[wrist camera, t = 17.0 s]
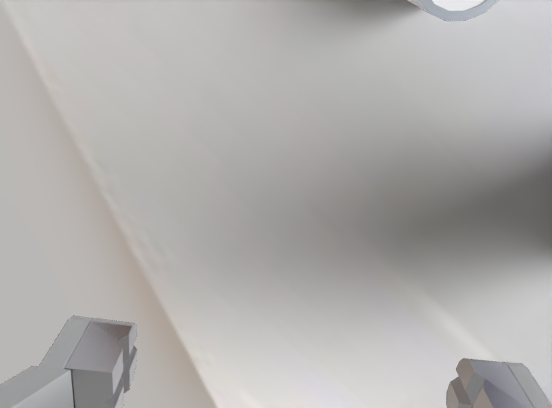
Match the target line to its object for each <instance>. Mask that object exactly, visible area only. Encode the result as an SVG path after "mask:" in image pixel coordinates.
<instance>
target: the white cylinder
mask: <svg viewBox="0 0 552 408" xmlns="http://www.w3.org/2000/svg"><path fill="white" fill-rule="evenodd" d="M407 1H409V2H411V3H412V4H414V5H416V6H418V7H419V8H421V9H423V10H424V11H426V12H428V13H430V14H432V15H434V16H436V17H438V18H440V19H442V20H444V21H466V20H468V19H471V18H473V17H476V16H478V15H480V14H483V13H485V12H486V11H487V10H488V9H490V8H491V7H492V6H493V5H494V4H495V3H496V2H497V1H498V0H407Z"/></svg>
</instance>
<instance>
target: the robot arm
mask: <svg viewBox="0 0 552 408" xmlns="http://www.w3.org/2000/svg"><path fill="white" fill-rule="evenodd" d="M136 337H137V325H136V324H135V323H130V322H122V321H115V320H107V319H99V318H88V317H80V316H72V317H71V318H70V319H68V320H67V322H66V324H65V325H64V327H63V329H62V330H61V332H60V333H59V335H58V337H57V338H56V340H55V341H54V343H53V344H52V346H51V347H50V349H49V351H48V352H47V354H46V356H45V357H44V359H43V360H42V362H41V363H40V365H39V366H31V367H29V368H28V369H26V370H24V371H22V372H21V373H19V374H18V375H16V376H14V377H12V378H11V379H9V380H7V381H6V382H4V383H2V384H0V408H123V406H124V393H125V392H127V391H128V390H129V389H130V387H131V384H132V381H133V378H134V373H135V369H136V362H137V349H136V348H135V346H134V342H135V340H136ZM456 371H457V373H458V375H459V377H457V378H456V379H454V380H453V381H451V382H450V384H449V387H448V390H447V396H446V405H447V408H552V404H551V403H550V401H549V400H548V398H547V397H546V395H545V394H544V392H543V391H542V389H541V388H540V386H539V385H538V383H537V382H536V380H535V378H534V377H533V375H532V374H531V372H530V371H529V369H528V368H527V367H526V366H525V365H523V364H521V363H510V362H497V361H487V360H477V359H466V358H463V359H462V360H461V361H460V362H459V363H458V366H457V368H456Z"/></svg>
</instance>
